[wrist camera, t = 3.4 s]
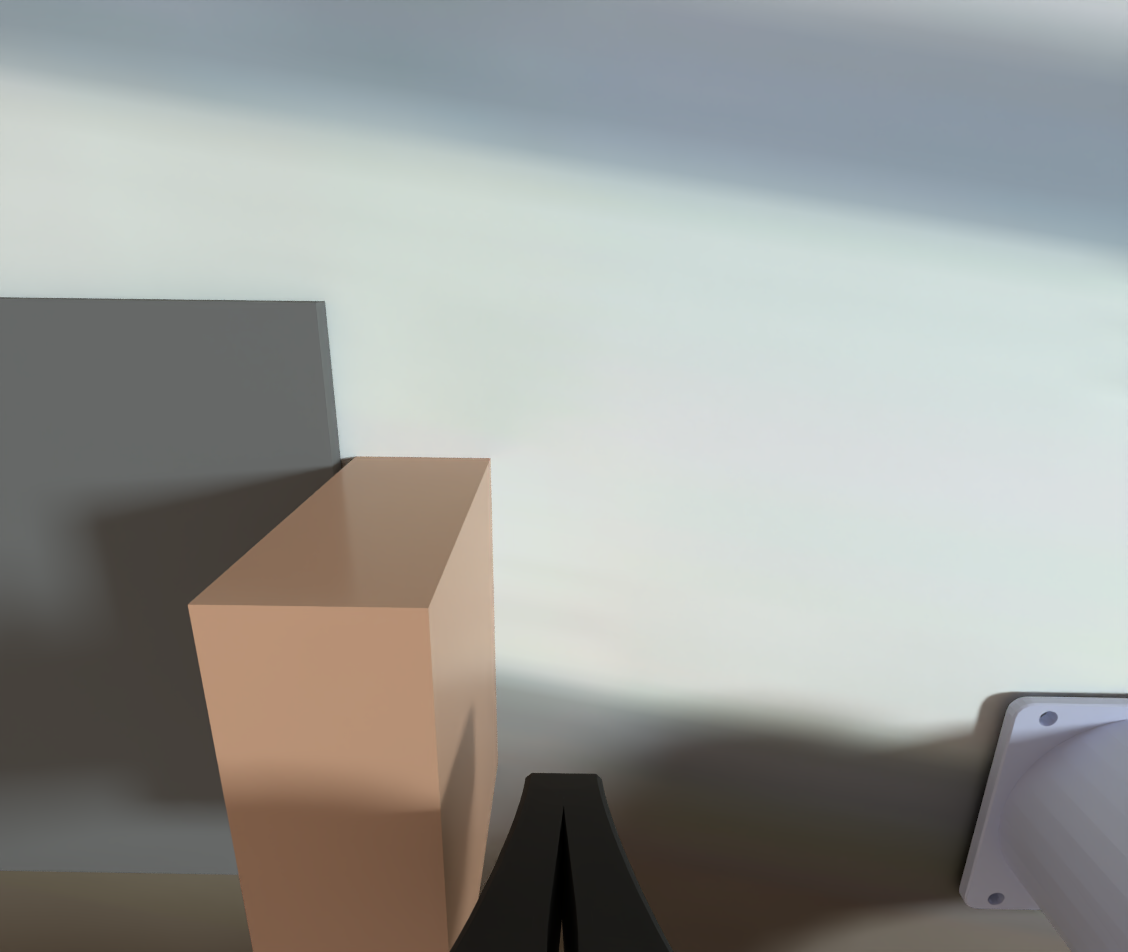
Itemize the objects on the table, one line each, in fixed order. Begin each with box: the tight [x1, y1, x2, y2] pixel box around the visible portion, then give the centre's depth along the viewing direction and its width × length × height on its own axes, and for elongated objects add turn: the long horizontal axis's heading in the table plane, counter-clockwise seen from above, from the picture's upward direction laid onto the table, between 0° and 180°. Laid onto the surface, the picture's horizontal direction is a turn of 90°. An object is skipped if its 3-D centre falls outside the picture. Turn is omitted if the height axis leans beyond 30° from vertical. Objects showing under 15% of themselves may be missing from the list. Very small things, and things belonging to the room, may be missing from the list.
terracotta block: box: [188, 457, 498, 952], centre depth 15 cm, size 4×10×8 cm, turn 179°
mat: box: [0, 297, 341, 875], centre depth 18 cm, size 16×18×2 cm
